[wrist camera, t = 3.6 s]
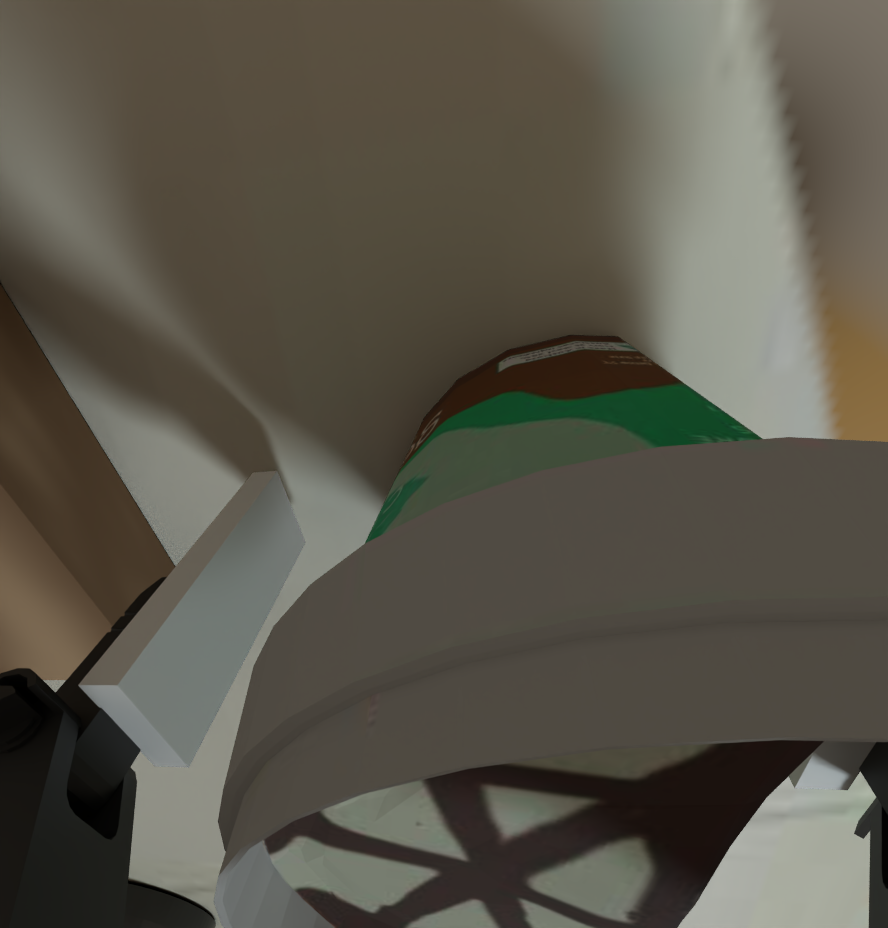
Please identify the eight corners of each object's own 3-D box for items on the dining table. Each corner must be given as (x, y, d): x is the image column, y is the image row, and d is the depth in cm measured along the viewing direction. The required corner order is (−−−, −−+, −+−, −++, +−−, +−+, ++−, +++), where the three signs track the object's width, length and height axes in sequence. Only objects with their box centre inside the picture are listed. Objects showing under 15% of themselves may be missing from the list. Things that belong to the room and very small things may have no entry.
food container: (370, 240, 10) (-149, 493, 2) (638, 271, 10) (1314, 693, 2) (368, 601, 17) (246, 1014, 9) (531, 623, 17) (570, 1067, 8)
